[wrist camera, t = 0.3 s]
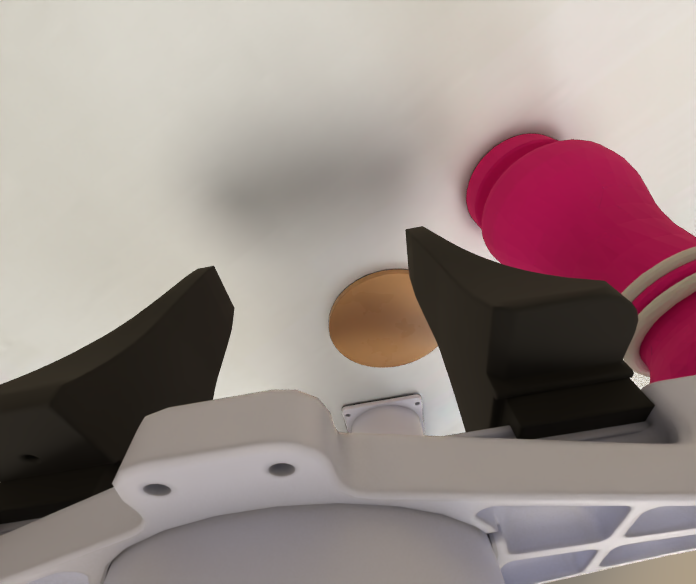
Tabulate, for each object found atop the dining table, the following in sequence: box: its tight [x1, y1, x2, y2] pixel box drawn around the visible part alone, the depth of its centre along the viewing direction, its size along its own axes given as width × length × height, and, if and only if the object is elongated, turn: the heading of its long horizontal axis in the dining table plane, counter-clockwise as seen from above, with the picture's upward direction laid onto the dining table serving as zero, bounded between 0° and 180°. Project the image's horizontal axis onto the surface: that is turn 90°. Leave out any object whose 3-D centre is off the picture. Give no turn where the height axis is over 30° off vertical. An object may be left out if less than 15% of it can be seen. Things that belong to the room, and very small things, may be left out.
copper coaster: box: [329, 269, 438, 368], centre depth 27 cm, size 10×10×1 cm
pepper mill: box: [466, 133, 696, 383], centre depth 14 cm, size 7×7×20 cm
